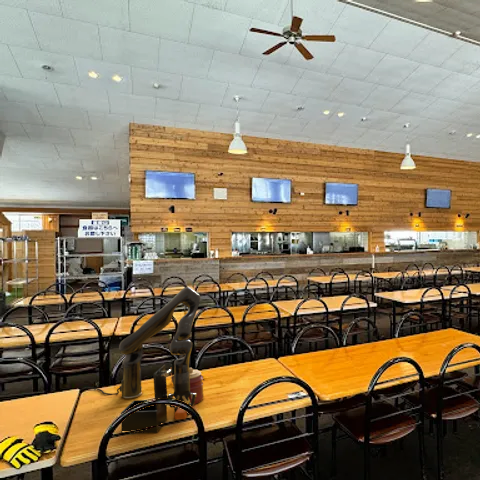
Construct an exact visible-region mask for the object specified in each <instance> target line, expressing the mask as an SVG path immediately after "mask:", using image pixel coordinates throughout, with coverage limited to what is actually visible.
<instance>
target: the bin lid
mask: <svg viewBox="0 0 480 480" xmlns="http://www.w3.org/2000/svg"><path fill="white" fill-rule="evenodd" d="M171 373H172V374H173V370H172V368H170V369H167V370H166V364H163V365H161V367H159V368H158V369H157V370H156V371H155V372H154V373H153V374H152V378H153V391H154V392H153V393H154V394H153V395H154V400H155V399H158V398H167V399H168V397H167V396H168V385H167V378H168V377H169V376H170V375H172V374H171ZM161 405H162V404H157V405H155V410H158V409H159V408H160V406H161Z"/></svg>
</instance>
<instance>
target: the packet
mask: <svg viewBox="0 0 480 480" xmlns="http://www.w3.org/2000/svg"><path fill="white" fill-rule="evenodd" d="M187 417H188V415H187V412H186V411H184V410H182V409H180V408H179V407H178V410H177V411H176V412H175V414H174V420H186V419H187Z"/></svg>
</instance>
